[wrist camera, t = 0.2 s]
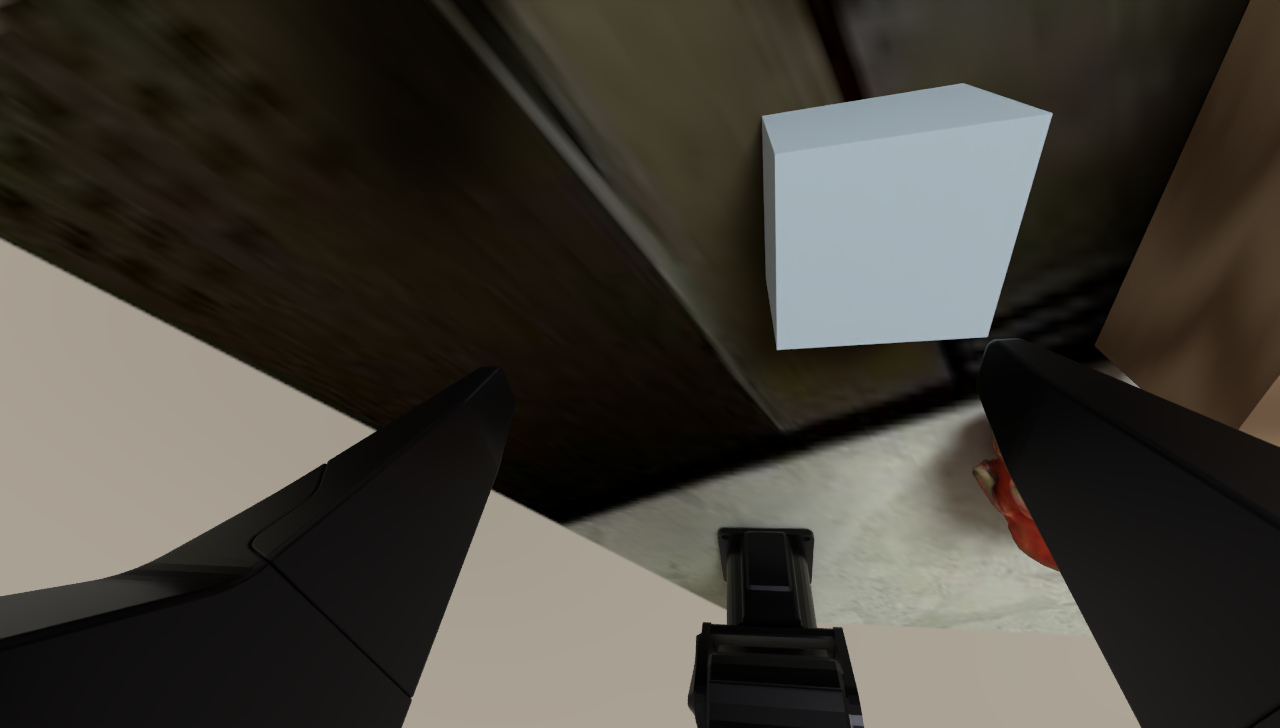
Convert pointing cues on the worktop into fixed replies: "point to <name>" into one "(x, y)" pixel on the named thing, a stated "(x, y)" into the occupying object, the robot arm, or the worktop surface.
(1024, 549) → the dragon fruit
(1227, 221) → the walnut board
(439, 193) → the worktop surface
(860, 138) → the slate block
